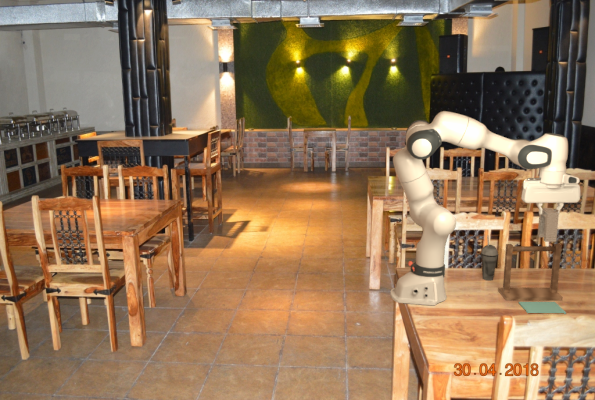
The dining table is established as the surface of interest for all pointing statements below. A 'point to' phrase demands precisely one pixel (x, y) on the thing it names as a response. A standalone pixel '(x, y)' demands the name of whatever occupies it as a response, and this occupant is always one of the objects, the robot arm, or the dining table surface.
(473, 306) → the dining table surface
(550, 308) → the mat
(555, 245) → the stand
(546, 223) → the tall rectangular pillar
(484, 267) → the beverage cup
